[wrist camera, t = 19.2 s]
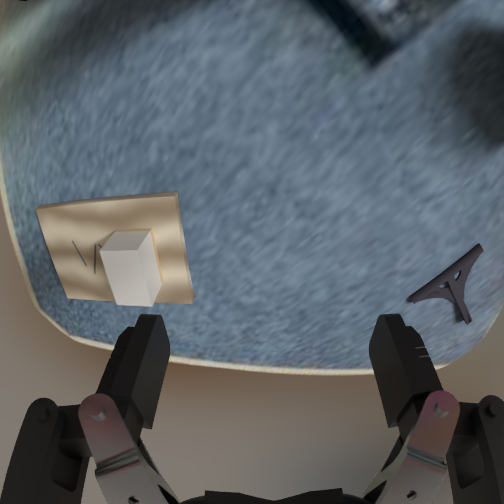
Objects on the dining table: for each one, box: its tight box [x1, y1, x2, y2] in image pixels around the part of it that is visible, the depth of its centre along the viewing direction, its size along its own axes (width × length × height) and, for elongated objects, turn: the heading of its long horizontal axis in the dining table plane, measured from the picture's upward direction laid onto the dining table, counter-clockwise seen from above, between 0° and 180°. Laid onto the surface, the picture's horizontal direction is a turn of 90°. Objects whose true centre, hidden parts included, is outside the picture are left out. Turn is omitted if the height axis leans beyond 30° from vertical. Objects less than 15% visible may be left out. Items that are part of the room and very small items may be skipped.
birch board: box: [36, 192, 194, 304], centre depth 40 cm, size 16×22×2 cm
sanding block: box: [100, 228, 163, 306], centre depth 37 cm, size 8×5×6 cm, turn 2°
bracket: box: [410, 244, 483, 324], centre depth 43 cm, size 14×15×3 cm
